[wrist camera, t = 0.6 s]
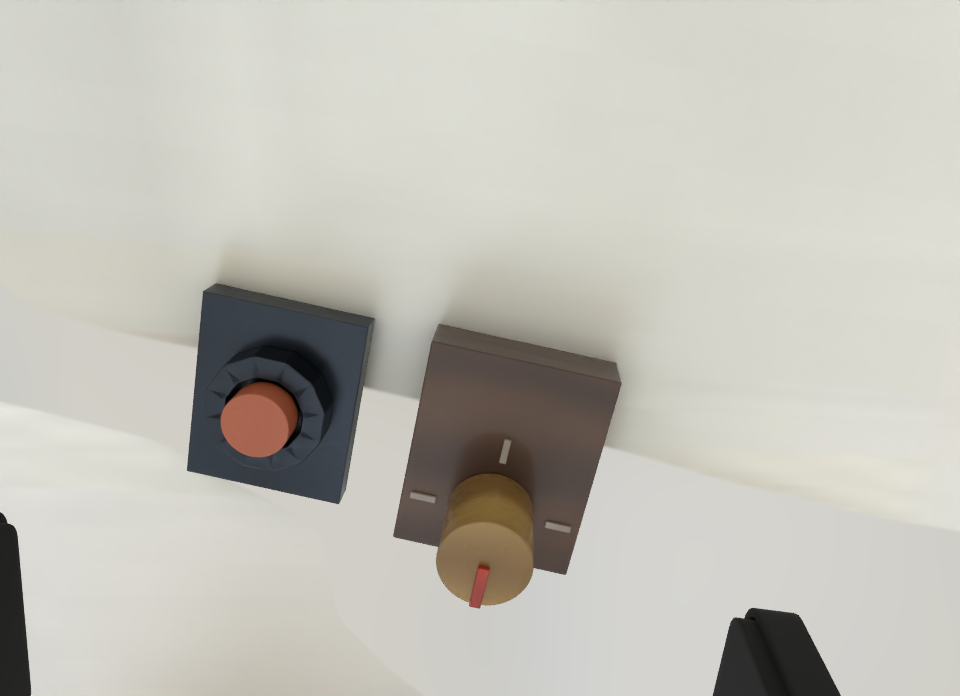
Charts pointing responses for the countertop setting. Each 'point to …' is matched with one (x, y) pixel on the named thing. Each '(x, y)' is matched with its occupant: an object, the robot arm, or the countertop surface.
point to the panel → (508, 434)
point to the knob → (487, 540)
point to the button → (259, 419)
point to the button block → (292, 366)
